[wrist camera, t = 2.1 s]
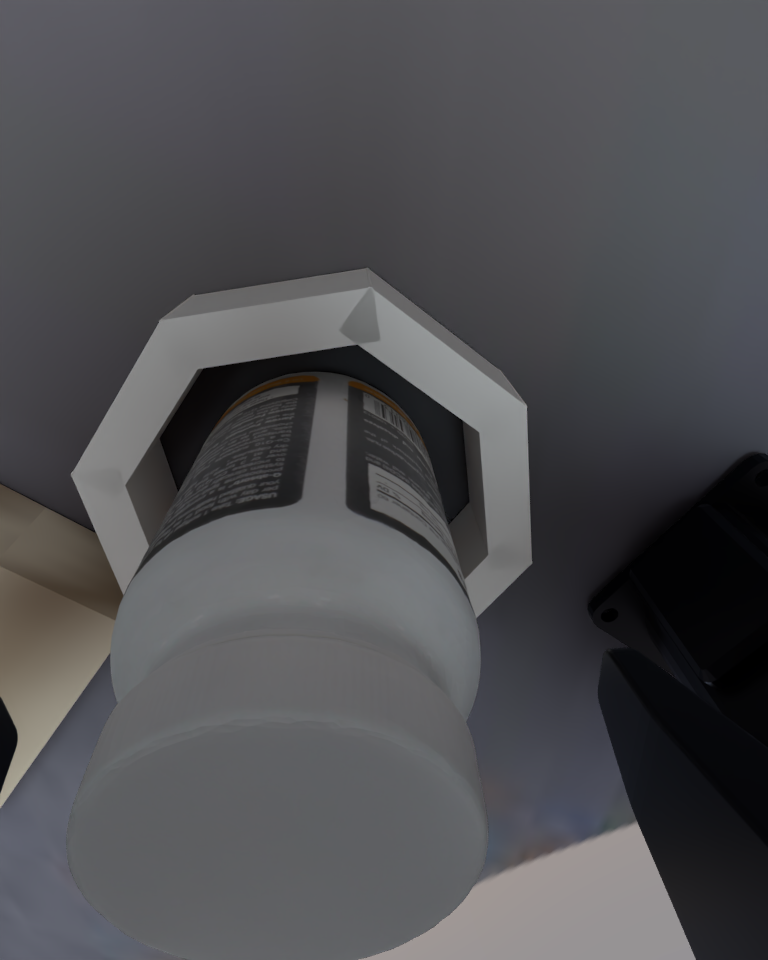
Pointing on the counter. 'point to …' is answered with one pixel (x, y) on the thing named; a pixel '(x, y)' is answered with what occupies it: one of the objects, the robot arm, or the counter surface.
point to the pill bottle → (290, 696)
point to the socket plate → (48, 620)
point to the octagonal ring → (298, 329)
